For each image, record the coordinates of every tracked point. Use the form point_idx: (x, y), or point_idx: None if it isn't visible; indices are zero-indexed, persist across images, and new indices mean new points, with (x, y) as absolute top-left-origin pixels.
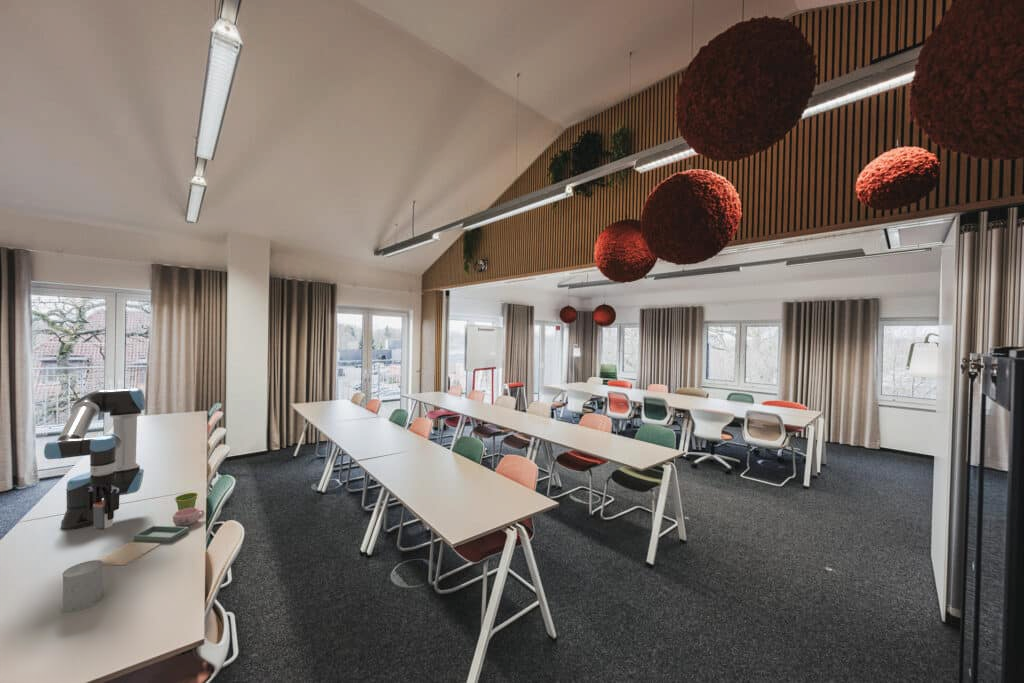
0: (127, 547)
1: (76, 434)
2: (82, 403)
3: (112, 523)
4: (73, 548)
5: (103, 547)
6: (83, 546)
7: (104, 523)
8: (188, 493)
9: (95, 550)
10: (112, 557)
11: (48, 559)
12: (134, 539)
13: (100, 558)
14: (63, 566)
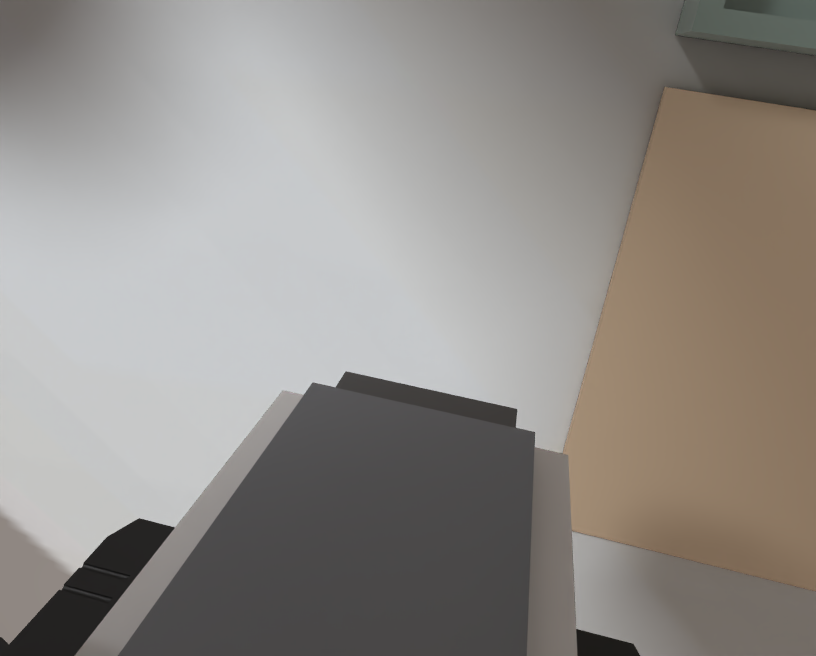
0: (721, 244)
1: None
2: None
3: (566, 481)
4: (82, 170)
5: (389, 181)
6: (142, 133)
7: None
8: None
9: (355, 244)
10: (689, 452)
11: (72, 360)
12: (694, 37)
13: (568, 452)
14: None
